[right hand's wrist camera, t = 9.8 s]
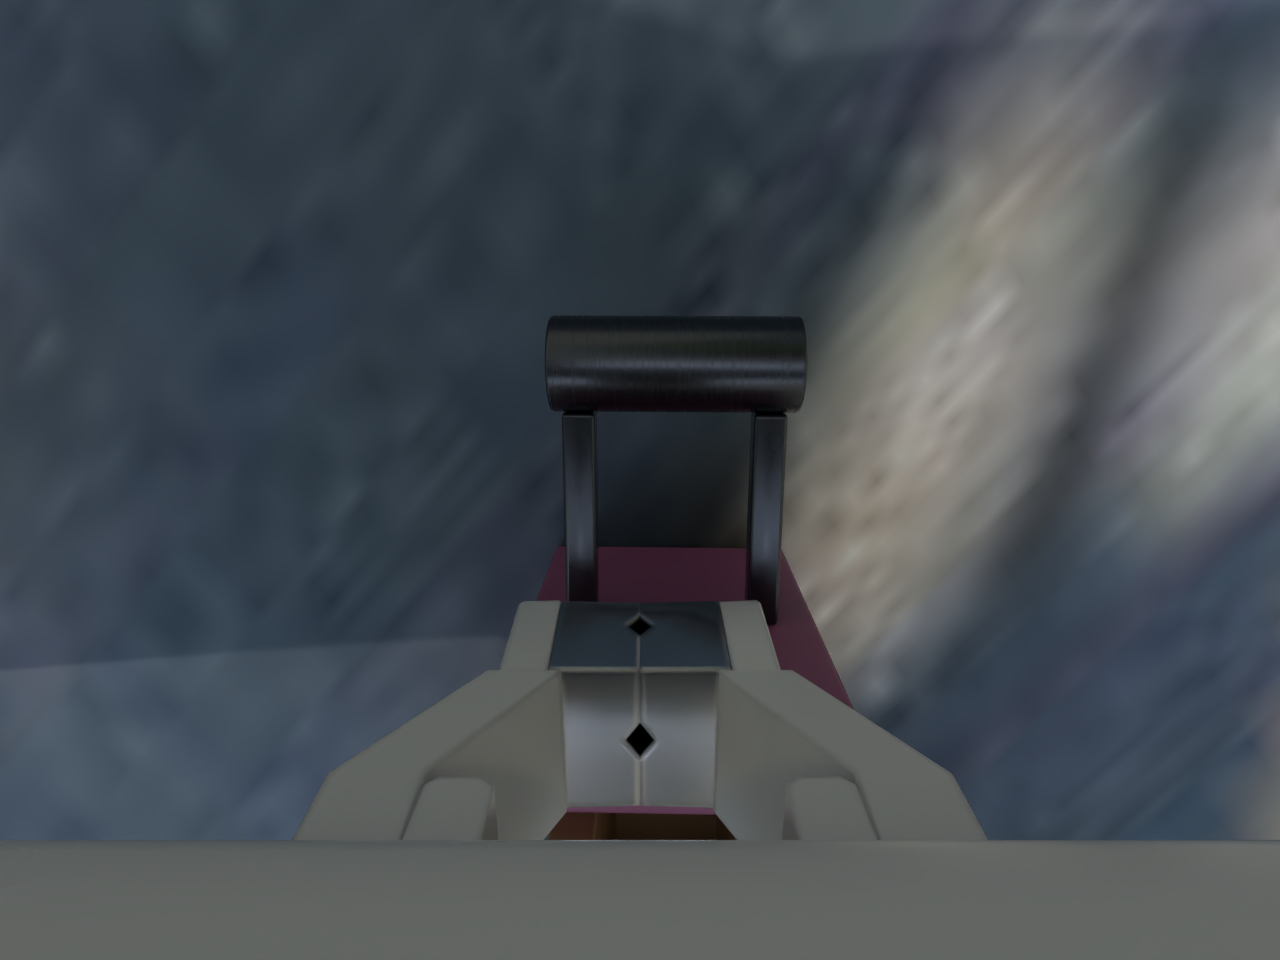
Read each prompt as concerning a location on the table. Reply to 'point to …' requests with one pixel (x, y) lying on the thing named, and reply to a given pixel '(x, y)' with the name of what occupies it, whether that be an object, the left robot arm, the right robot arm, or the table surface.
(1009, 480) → the table surface
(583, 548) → the drawer
